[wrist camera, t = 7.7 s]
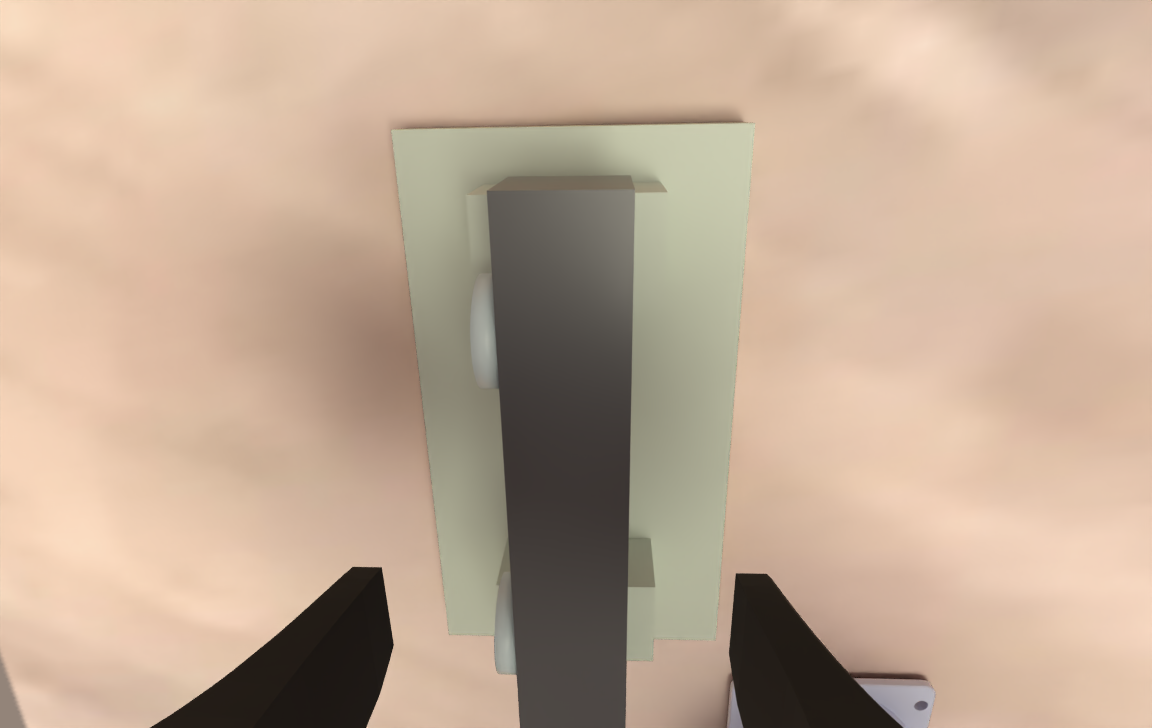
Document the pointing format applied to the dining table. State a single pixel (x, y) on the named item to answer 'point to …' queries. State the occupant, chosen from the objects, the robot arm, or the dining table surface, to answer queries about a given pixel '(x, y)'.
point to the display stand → (659, 351)
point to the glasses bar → (562, 437)
